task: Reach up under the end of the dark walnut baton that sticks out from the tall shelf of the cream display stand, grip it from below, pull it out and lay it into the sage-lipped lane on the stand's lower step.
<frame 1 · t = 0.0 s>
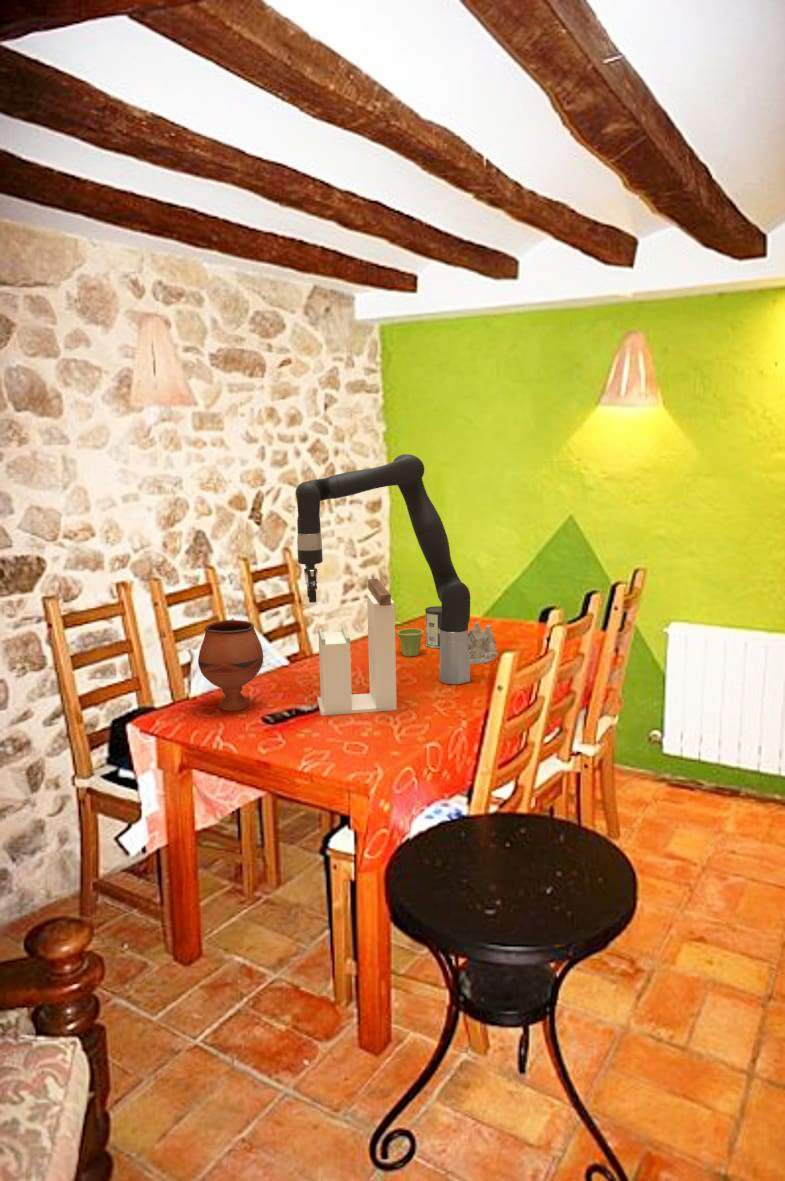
hand: (311, 599, 249), 29 cm above the table, tool pointing down, fingers open, 8 cm apart
walnut baton: (378, 596, 237), point 32 cm above the table, touching display stand
plant pot: (410, 655, 293), on the table
display stand: (356, 705, 239), on the table
goblet: (234, 706, 241), on the table
coffee can: (439, 645, 306), on the table
ceramic cottage: (473, 659, 287), on the table
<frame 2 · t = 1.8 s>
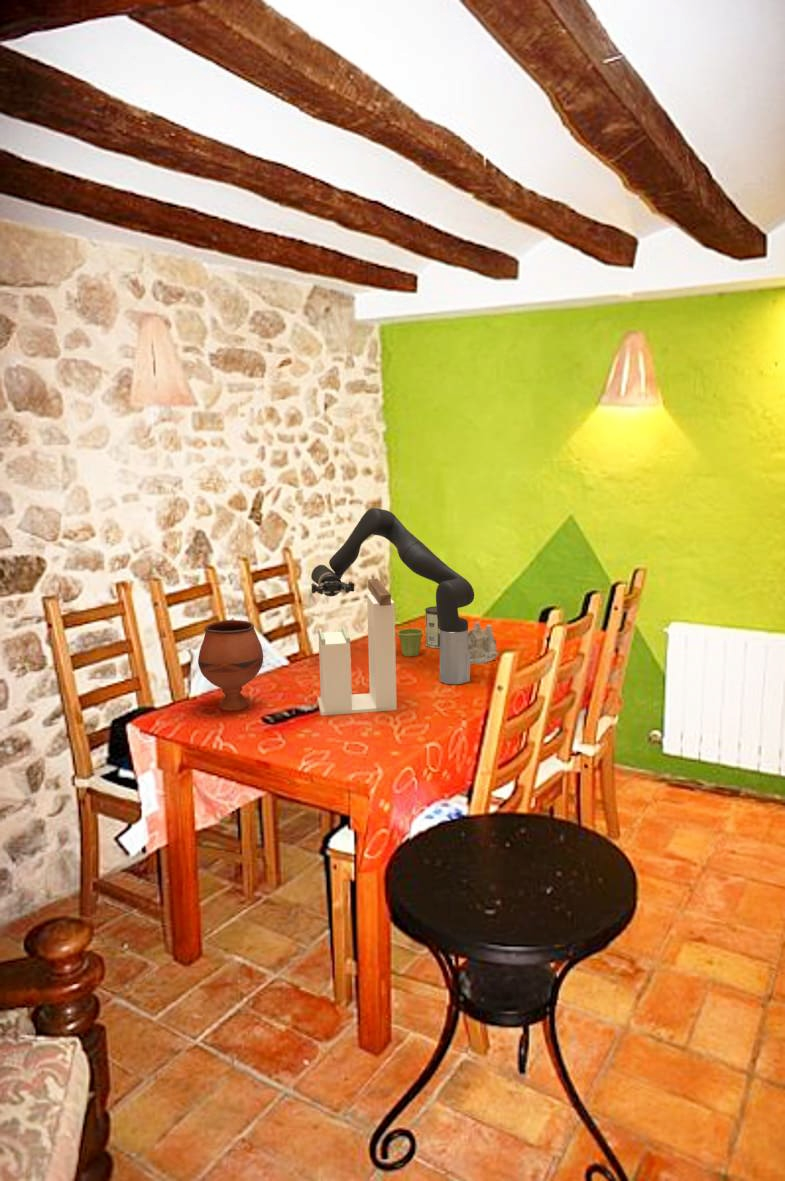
hand: (334, 590, 263), 29 cm above the table, tool horizontal, fingers open, 8 cm apart
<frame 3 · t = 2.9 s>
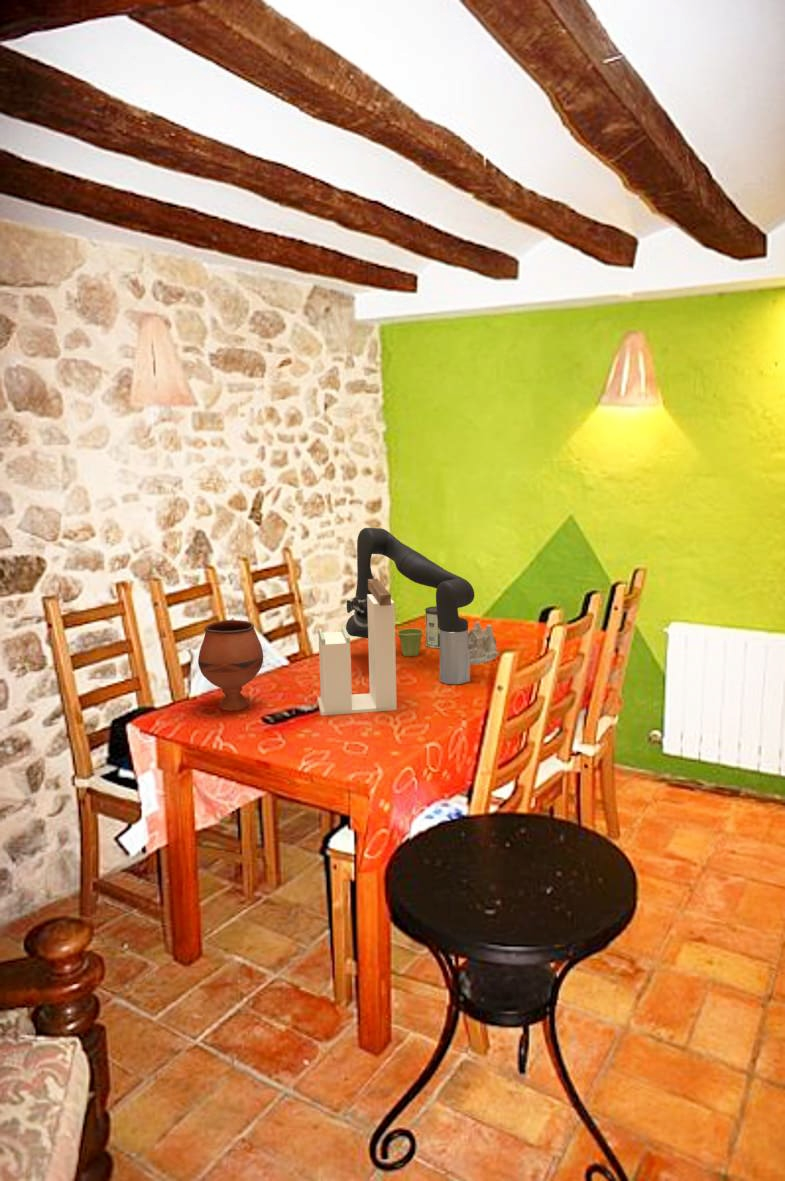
hand: (370, 598, 258), 27 cm above the table, tool pointing upward, fingers open, 8 cm apart
nothing on the table moved.
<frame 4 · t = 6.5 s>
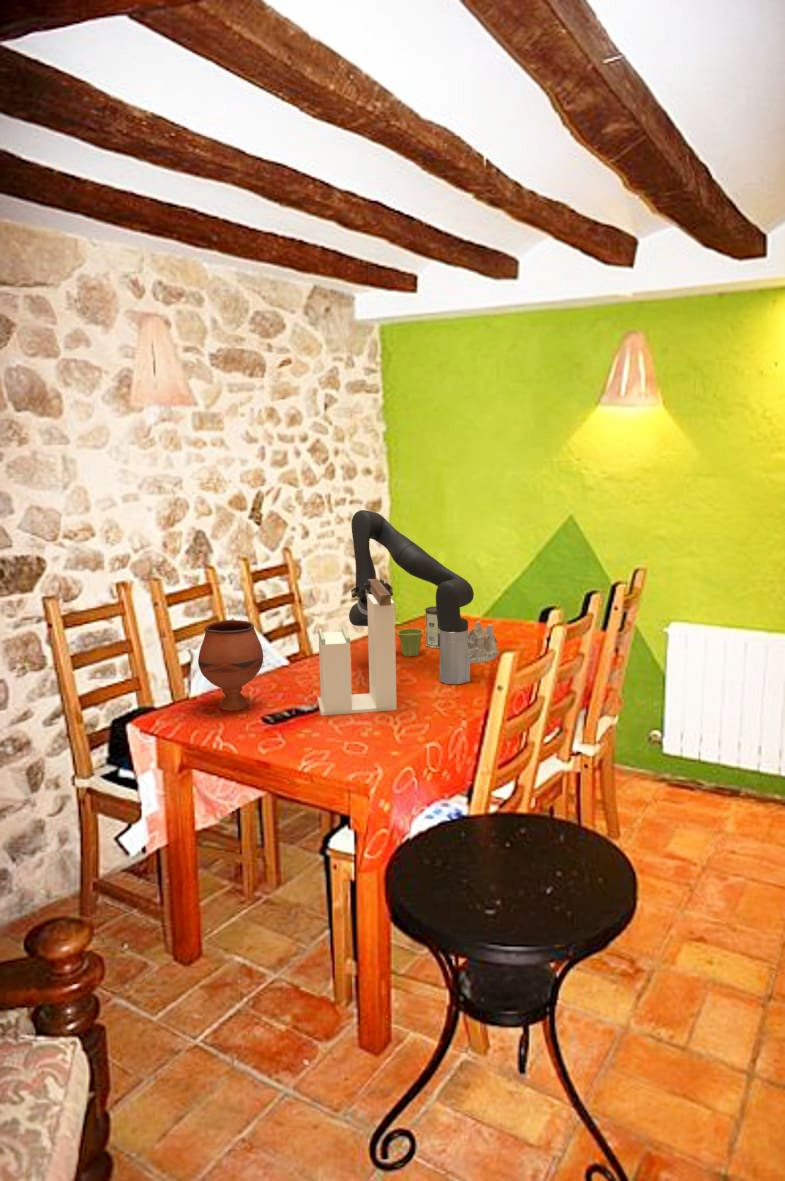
hand: (375, 582, 244), 35 cm above the table, tool pointing upward, fingers closed on walnut baton, 3 cm apart
walnut baton: (378, 596, 237), point 32 cm above the table, touching display stand, gripper
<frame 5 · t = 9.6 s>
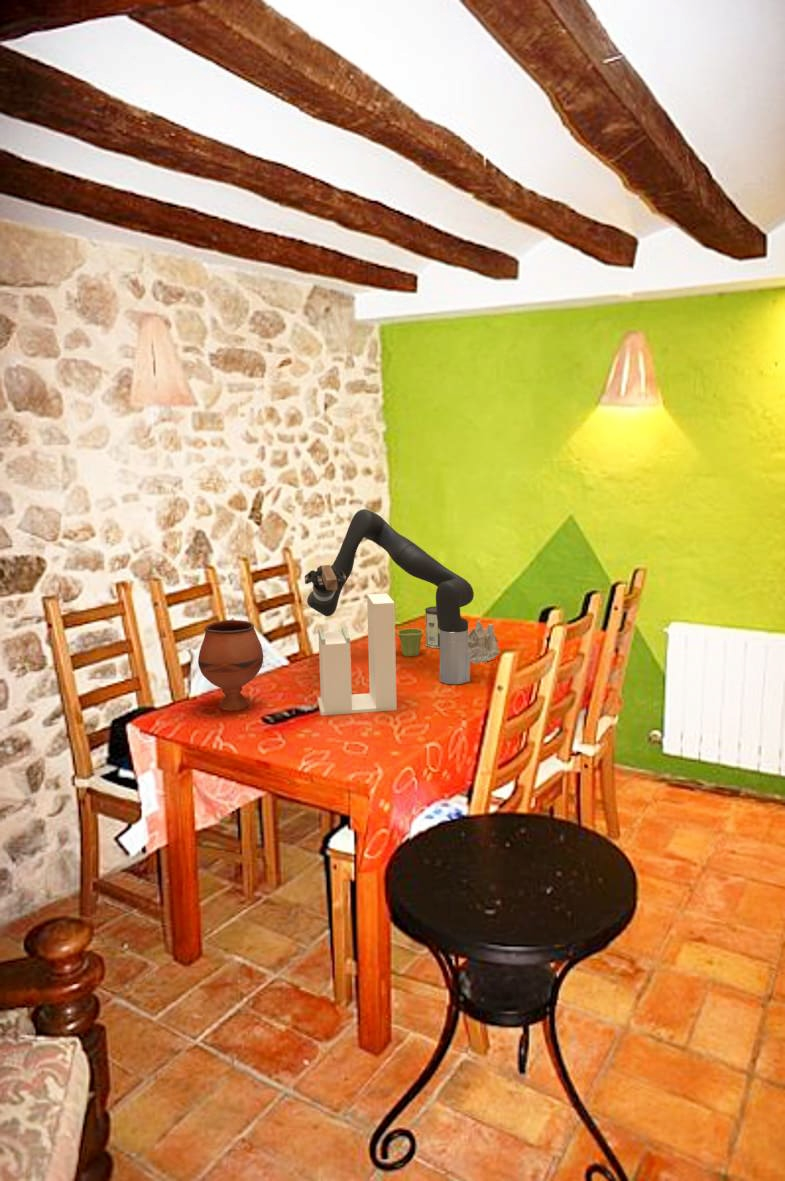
hand: (326, 568, 248), 39 cm above the table, tool pointing upward, fingers closed on walnut baton, 3 cm apart
walnut baton: (328, 581, 242), point 36 cm above the table, touching gripper
when the fingers open (26 cm above the table, at t = 13.2 s): walnut baton drops 2 cm, resting on display stand.
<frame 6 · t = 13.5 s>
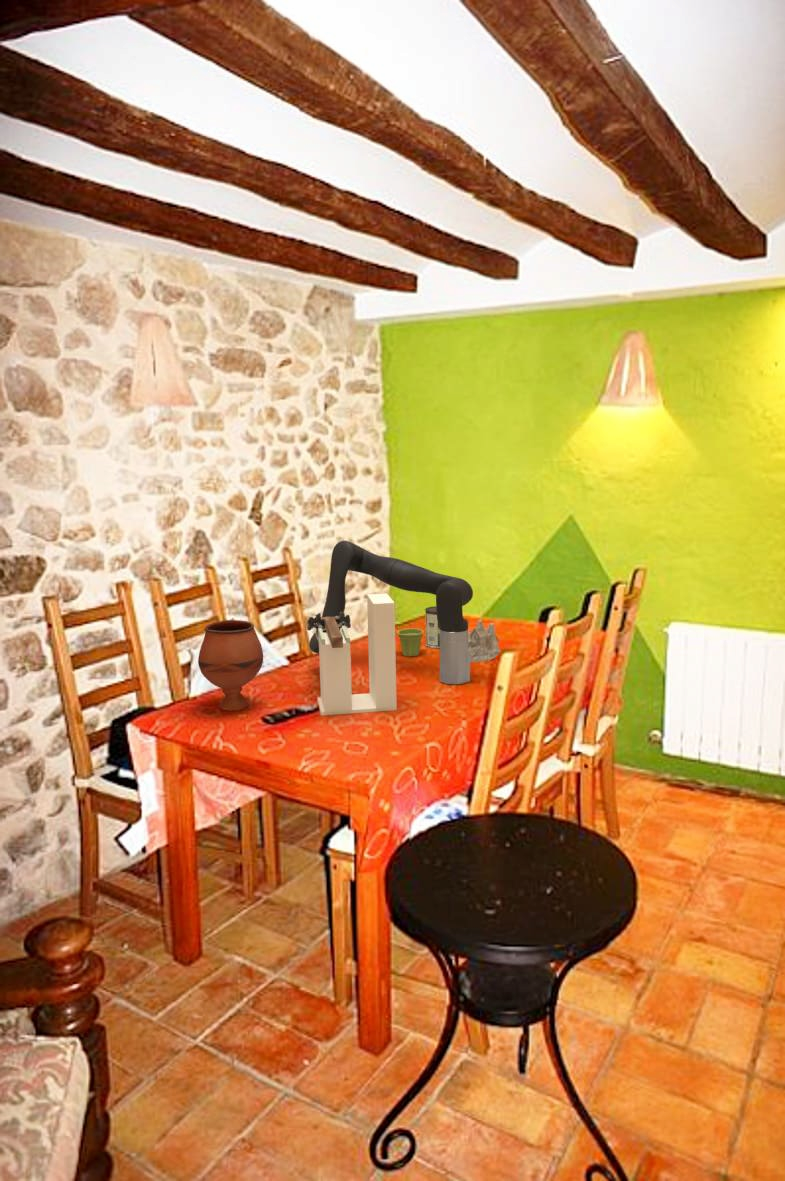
hand: (330, 615, 242), 26 cm above the table, tool pointing upward, fingers open, 6 cm apart
walnut baton: (333, 636, 236), point 21 cm above the table, touching display stand
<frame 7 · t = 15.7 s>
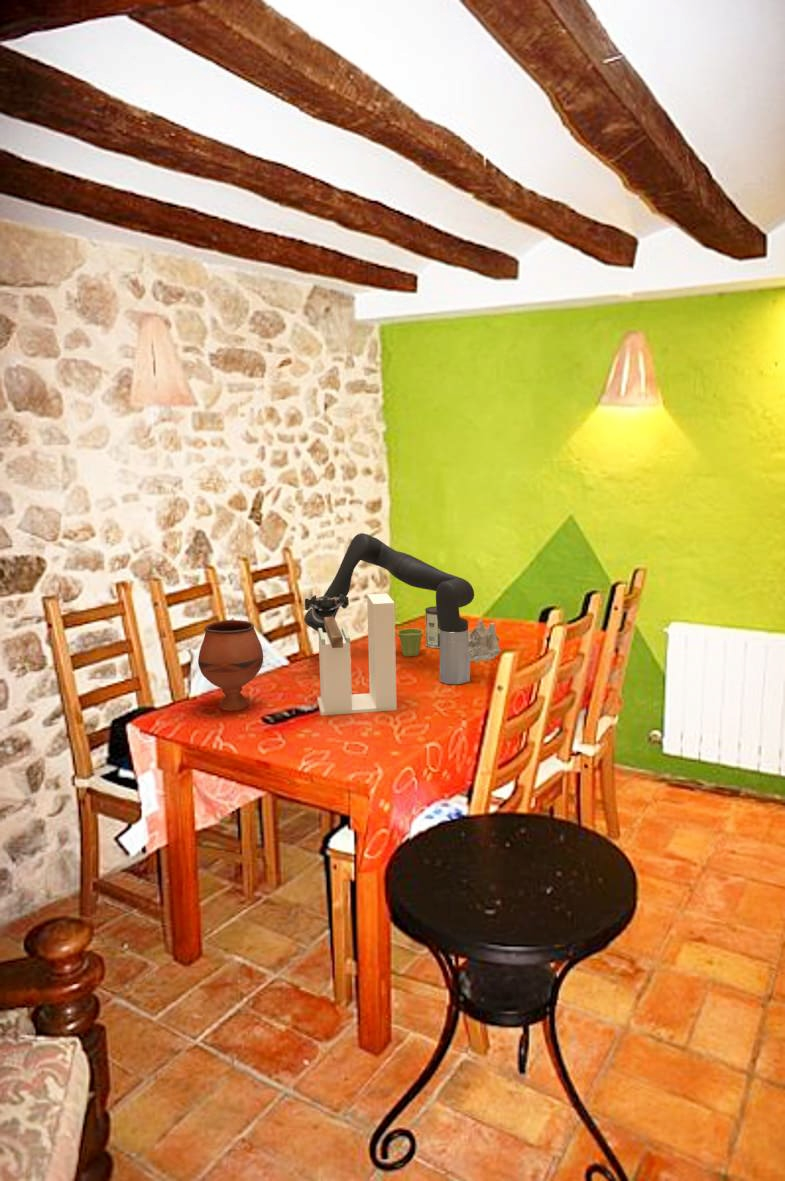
hand: (328, 597, 257), 28 cm above the table, tool pointing upward, fingers open, 8 cm apart
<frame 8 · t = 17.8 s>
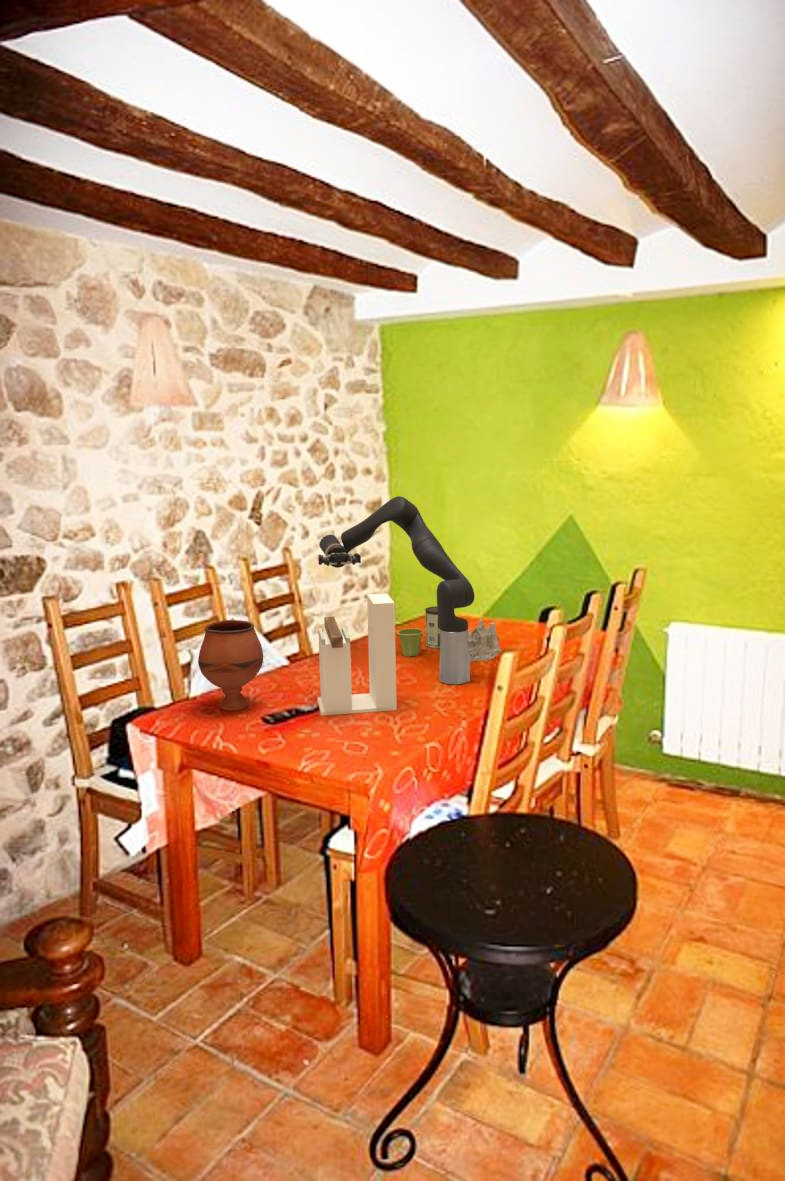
hand: (341, 562, 264), 38 cm above the table, tool horizontal, fingers open, 8 cm apart
at the end: walnut baton inside the target area (0.1 cm from its centre), point 21.0 cm above the table; the gripper is holding nothing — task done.
